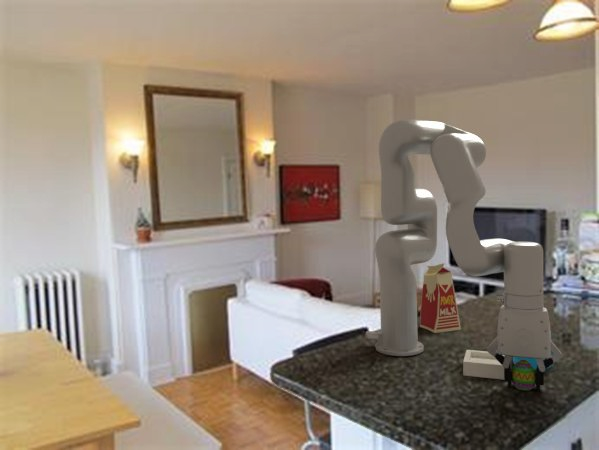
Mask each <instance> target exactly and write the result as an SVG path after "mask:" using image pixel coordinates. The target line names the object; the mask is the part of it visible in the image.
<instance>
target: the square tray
mask: <svg viewBox="0 0 599 450" xmlns="http://www.w3.org/2000/svg"><path fill="white" fill-rule="evenodd" d="M503 356H505V355H503ZM462 364H463V365H462V369H463V370H462V371H463V372H462V375H463V376H467V377H473V378H474V377H477V378H485V379H486V378H487V379H494V380H496V379H497V380H502V381H503V380H504V367H503V365H502V364H501V363H500V362H499V361H498V360H497V359H496V358H495V357H494V356H492V355H491V354H490V353H488V352H487V350H486V351H485V350H473V349H466V351H465V354H464V358H463V362H462Z"/></svg>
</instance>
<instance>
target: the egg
mask: <svg viewBox="0 0 599 450" xmlns="http://www.w3.org/2000/svg"><path fill="white" fill-rule="evenodd" d="M511 380H512V383H511V384H513V386H514V387H515V388H516V389H518V390H519V391H532V390H533V389H534V388H535V387H536V370H535V369H534V367H533V366H532V365H531V363H530V362H528V361H527V360H524V359H522V360H519V361H518V362H516V363H515V364H514V365H513V366H512V367H511Z"/></svg>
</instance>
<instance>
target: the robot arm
mask: <svg viewBox="0 0 599 450" xmlns="http://www.w3.org/2000/svg"><path fill="white" fill-rule="evenodd" d="M410 155H425V156H427V155H429V156H430V158H431V161H432V164H433V166H434V169H435V171H436V175H437V176H438V179H439V181H440V184H441V187H442V189H443V191H444V194H445V197H446V201H447V202H448V207H447V208H448V209H447V213H446V218H445V235H446V241H447V243H448V246H449V248H450V250H451V254H452V257H453V258H454V260H455V261H454V262H455V263H456V264H457V266H458V268H459V269H460V270H461V271H462V272H463V273H464V274H466V275H468V276H471V277H482V276H488V275H492V274H498V273H503V287H504V288H503V292H502V293H501V294H496V301H497V302H502V305H500V308H499V314H498V320H497V336H496V337H495V338H494V339H493V340H492V341H491V342H490V343H489V344H488V346H487V347H486V351H487V352H488V353H490V354H491V355H492V356H494V357H495V358H496V359H497V360H498V361H499V362H500V363H501V364H502V365H503V367H504V382H506V383H507V388H512V384H513V383H512V379H511V372H512V365H511V361H512V359H513V357H522V358H534V359H536V361H537V364H538V365H537V368H536V370H535V372H536V384H535V388H536V390H537V391H541V386H544V385H545V384H544V383H545V382H544V381H545V380H544V378H545V376H544V375H545V371H546V370H548V369H549V368H548V367H549V366H551V367H552V365H553V364H555V362H558V361H559V360H561V359H563V353H562V352H561V351H560V349H559V348H558V347H557V345H556V344H555V343H554V342H553V341H552V333H551V334H550V331H551V325H550V324H551V322H550V316H549V312H548V311H549V310H548V309H547V308H546V307H544V248H543V245H541V244H540V243H538V242H534V241H514V240H510V239H505V238H485V239H480V237H479V235H478V231H477V230H476V227H475V223H474V212H475V208H476V206H477V204H478V203H479V202H480V201H481V200H482V199H483V198H484V197H485V195H486V188H485V185H484V182H483V181H482V180H483V179H482V178H481V175H480V173H479V170H478V168H479V167H480V166H482V165H483V163H484V162H485V160H486V158H487V157H486V156H487V149H486V146H485V143H484V142H483V140H482V139H481V138H480V137H478V136H477V135H475V134H474V133H471V132H468V131H465V130H462V129H460V128H457V127H455V126H452V125H450V124H446V123H444V122H441V121H434V120H433V121H432V120H424V119H410V118H409V119H407V118H406V119H399V120H396V121H393V122H392V123H391V124H389V125H388V126H386V127H385V129H384V130H383V131H382V133H381V136H380V139H379V143H378V156H379V158H378V159H379V163H380V175H381V176H380V211H381V217H382V220H384V221H383V222H385V223H386V224H387V225H391V226H405V225H407V229H406V228H405V229H397V230H396V229H395V230H390V231H387V232H385V233H383V234H382V235H380V236H379V237H378V239H377V240H376V242H375V246H374V250H375V251H374V253H375V258H376V263H377V266H378V267H377V268H378V275H379V277H378V278H379V298H380V299H379V302H380V303H379V304H380V305H379V306H380V330H378V331H371V330H370V331H368V330H367V331H365V338H366V339H367V340H368V341H376V343H375V346H374V347H375V350H376V351H377V352H378V353H380V354H383V355H387V356H393V357H411V356H415V355H419V354H421V353H422V352H424V350H425V349H424V347H425V346H424V344H423V343H422V342H421V341H418V340H419V337H418V334H419V333H418V290H417V288H418V285H417V279H416V276H415V273H414V272H413V270H412V267H411V266H412V265H419V264H423V263H426V262H429V261H430V260H432V259H433V257H434V255H435V254H436V250H437V244H438V207H437V206H438V205H437V201H436V198H435V197H434V195H433V194H432V193H431V191H429V190H428V189H426V188H422V187H415V170H414V166H413V164H412V161H411V160H410V158H409V156H410ZM550 354H551V356H550ZM503 355H505V356H503ZM543 359H544V360H543ZM547 368H548V369H547Z"/></svg>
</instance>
